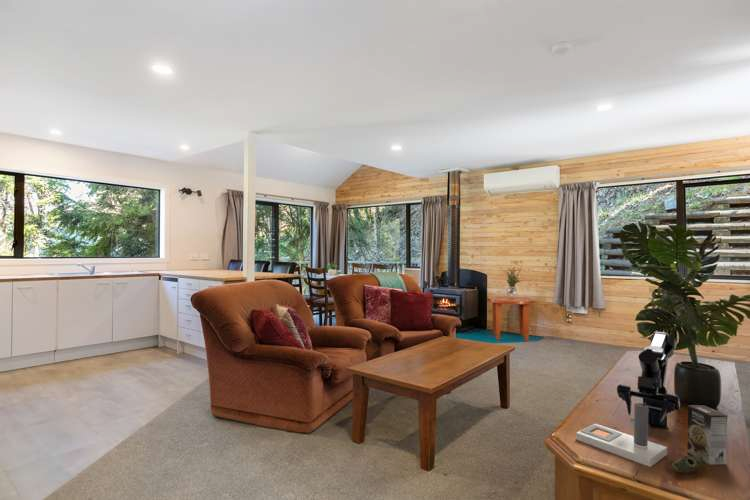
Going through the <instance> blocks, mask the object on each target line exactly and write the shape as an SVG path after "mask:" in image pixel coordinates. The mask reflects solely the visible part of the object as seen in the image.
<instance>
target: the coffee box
mask: <svg viewBox="0 0 750 500" xmlns="http://www.w3.org/2000/svg"><path fill="white" fill-rule="evenodd" d="M686 439H687V444H686V445H687V446H686V450H687V451H686V452H687V453H689V454H690V455H691V456H698V457H702V458H703V461H702V462H705V463H706V464H707V465H711V466H713V465H727V445H728V444H727V443H728V442H727V441H728V414H725V413H722V412H720V411H718V410H716V409H713V408H712V407H709V406H707V405H703V404H702V405H700V404H691V405H687V437H686Z"/></svg>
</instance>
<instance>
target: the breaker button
mask: <svg viewBox="0 0 750 500" xmlns="http://www.w3.org/2000/svg"><path fill="white" fill-rule="evenodd" d="M592 433H594V434H597V435H600V436H603V437H607V436H609V435H611V434H609V433H606V432H603V431H600V430H598V429H597V430H595V431H593V432H592Z"/></svg>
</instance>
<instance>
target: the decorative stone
mask: <svg viewBox="0 0 750 500" xmlns="http://www.w3.org/2000/svg"><path fill="white" fill-rule="evenodd" d="M702 462H704V461H703V458H702V457H698V456H694V455H682V456H680V457H678V458H677V460H675V461H674V462H672V464H671V466H672V468H673V469H674V470H675V471H676V472H678V473H679V472H680V473H683V474H691V473H694V472H696V471H697V470H699V468H700V467H701V466H702Z"/></svg>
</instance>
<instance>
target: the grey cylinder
mask: <svg viewBox="0 0 750 500" xmlns="http://www.w3.org/2000/svg"><path fill="white" fill-rule="evenodd" d="M633 413H634V415H633V417H634V418H633V436H634V446H635V447H637V448H640V449H647V448H648V441H649V440H648V438H649V425H648V405H645V404H643V402H642V403H641V402H636V403H634V409H633Z"/></svg>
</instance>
